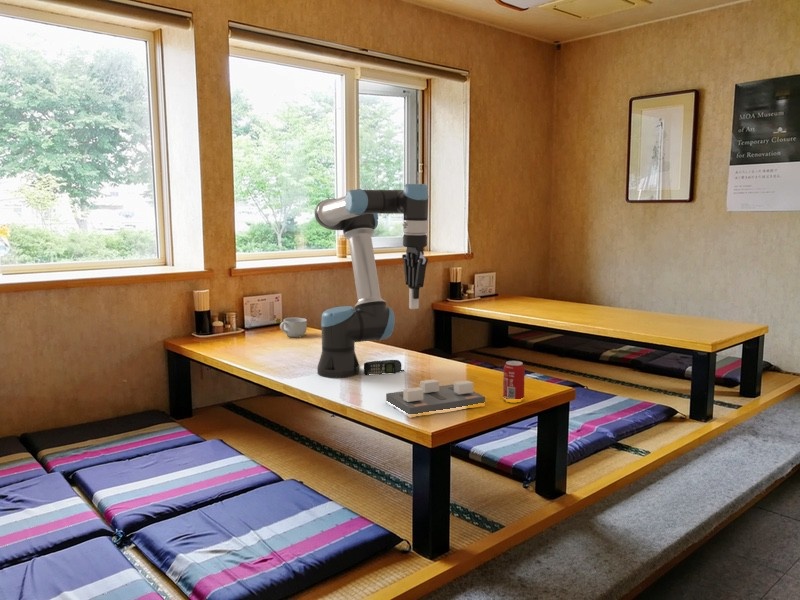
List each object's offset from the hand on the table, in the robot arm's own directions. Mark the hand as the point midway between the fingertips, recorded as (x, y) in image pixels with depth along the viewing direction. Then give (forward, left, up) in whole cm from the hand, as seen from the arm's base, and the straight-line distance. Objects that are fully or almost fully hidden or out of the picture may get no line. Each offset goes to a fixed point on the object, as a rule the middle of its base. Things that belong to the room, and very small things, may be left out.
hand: (413, 308), depth 205 cm
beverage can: (+23, +22, -27) cm, 42 cm away
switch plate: (+16, -1, -27) cm, 32 cm away
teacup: (-104, -10, -27) cm, 108 cm away
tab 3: (+19, +7, -24) cm, 31 cm away
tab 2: (+13, -1, -24) cm, 27 cm away
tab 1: (+19, -10, -24) cm, 32 cm away
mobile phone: (-24, +1, -28) cm, 37 cm away
